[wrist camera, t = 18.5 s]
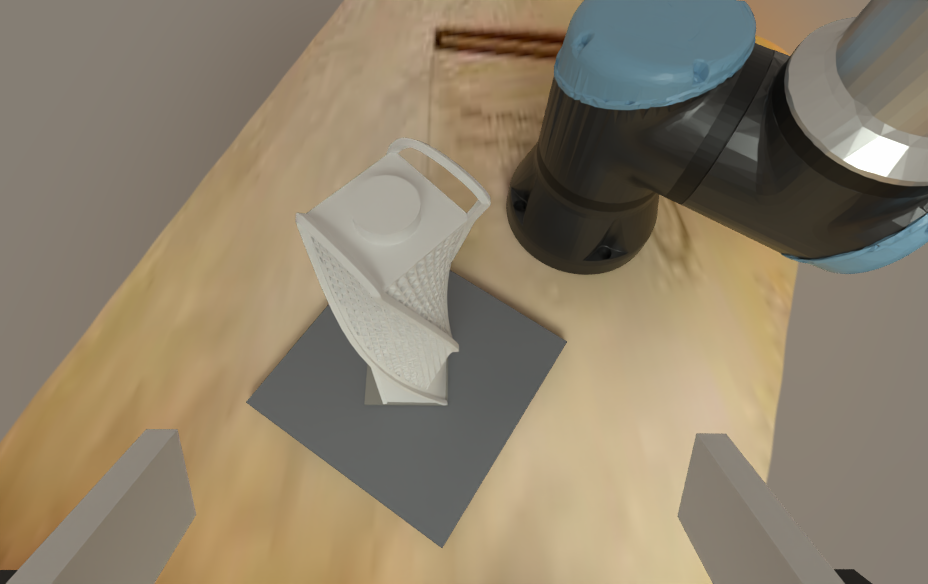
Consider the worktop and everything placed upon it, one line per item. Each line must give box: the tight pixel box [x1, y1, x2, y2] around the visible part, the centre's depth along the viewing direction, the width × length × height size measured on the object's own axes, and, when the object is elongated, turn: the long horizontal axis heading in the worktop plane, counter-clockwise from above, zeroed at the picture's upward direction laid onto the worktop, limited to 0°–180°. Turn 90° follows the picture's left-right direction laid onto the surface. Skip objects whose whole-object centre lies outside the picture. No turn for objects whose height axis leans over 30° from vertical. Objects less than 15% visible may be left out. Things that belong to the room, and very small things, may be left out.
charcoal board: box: [246, 270, 567, 548], centre depth 45 cm, size 20×20×2 cm
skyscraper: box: [296, 138, 491, 406], centre depth 32 cm, size 8×8×28 cm
